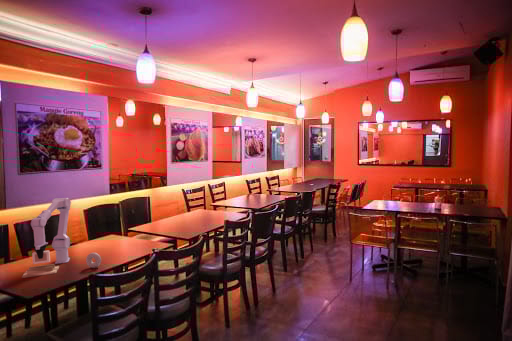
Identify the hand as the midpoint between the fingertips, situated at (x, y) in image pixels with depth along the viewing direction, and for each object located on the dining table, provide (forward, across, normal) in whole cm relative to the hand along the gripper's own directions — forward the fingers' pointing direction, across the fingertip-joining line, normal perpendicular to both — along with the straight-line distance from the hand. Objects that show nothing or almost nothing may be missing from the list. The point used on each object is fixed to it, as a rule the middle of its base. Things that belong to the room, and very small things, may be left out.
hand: (41, 257), depth 216 cm
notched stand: (+9, 0, +1) cm, 9 cm away
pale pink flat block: (+3, 0, 0) cm, 3 cm away
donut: (+10, -6, -30) cm, 32 cm away
